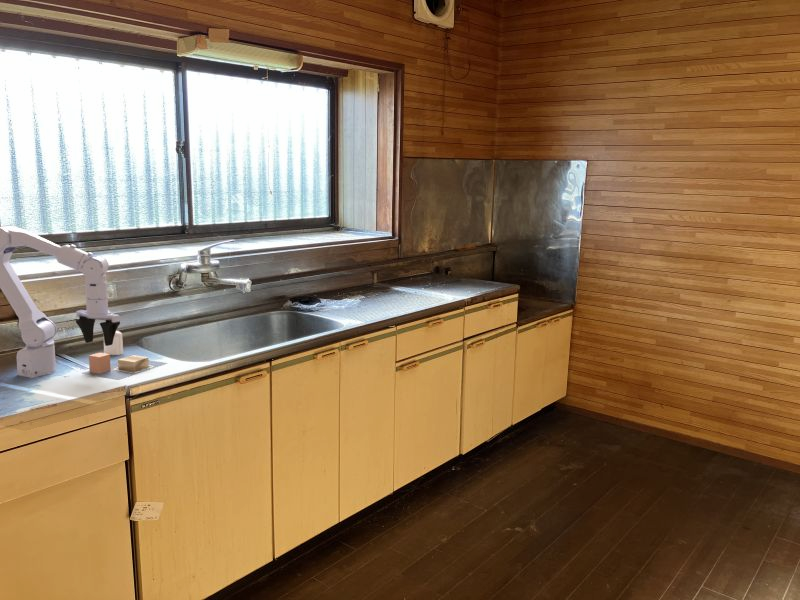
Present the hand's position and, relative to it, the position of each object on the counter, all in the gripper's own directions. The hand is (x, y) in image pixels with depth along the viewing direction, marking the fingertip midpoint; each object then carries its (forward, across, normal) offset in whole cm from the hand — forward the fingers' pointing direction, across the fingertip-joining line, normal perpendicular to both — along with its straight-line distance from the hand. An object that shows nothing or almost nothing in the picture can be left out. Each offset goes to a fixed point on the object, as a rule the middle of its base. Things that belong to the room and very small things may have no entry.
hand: (98, 343), depth 187 cm
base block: (+8, -6, -7) cm, 12 cm away
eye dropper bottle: (+10, +12, -17) cm, 23 cm away
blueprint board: (+9, -4, -6) cm, 12 cm away
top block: (+8, 0, 0) cm, 8 cm away
